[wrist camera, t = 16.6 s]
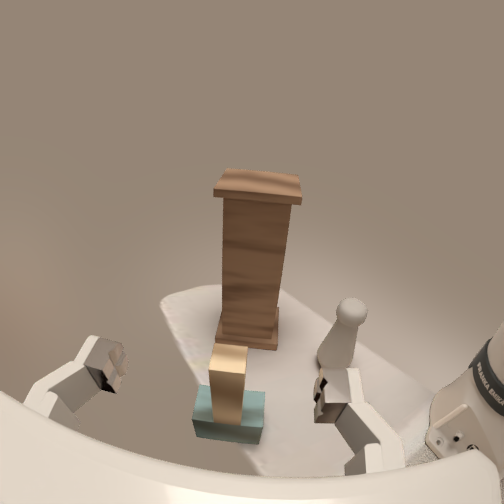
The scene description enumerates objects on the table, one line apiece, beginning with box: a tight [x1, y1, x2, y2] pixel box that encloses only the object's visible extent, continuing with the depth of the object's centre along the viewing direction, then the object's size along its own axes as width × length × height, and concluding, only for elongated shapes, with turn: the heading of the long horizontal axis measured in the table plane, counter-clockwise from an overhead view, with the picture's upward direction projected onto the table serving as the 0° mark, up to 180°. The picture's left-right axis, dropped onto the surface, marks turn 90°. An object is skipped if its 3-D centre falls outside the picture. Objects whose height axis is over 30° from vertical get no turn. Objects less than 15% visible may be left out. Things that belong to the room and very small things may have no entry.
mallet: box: [192, 343, 265, 444], centre depth 29 cm, size 17×8×5 cm
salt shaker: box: [317, 298, 368, 368], centre depth 40 cm, size 6×6×13 cm
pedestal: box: [213, 168, 302, 350], centre depth 43 cm, size 9×10×26 cm
